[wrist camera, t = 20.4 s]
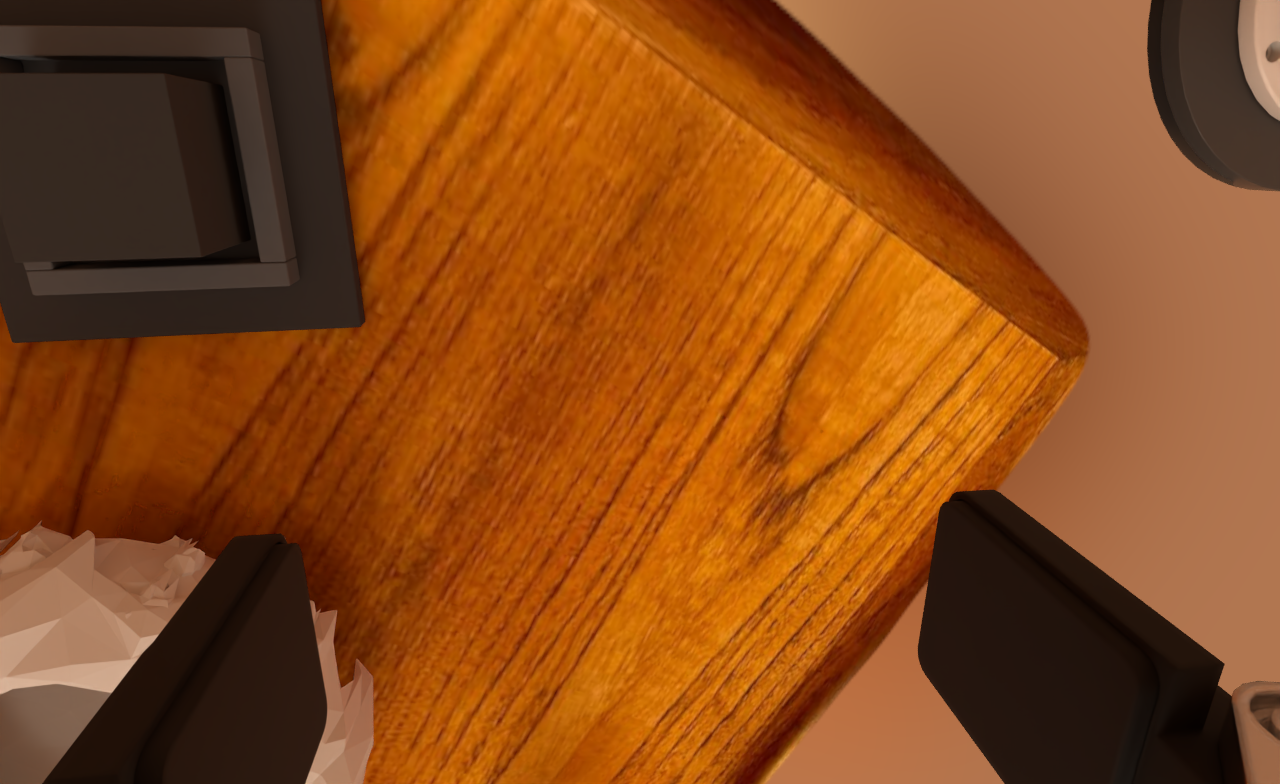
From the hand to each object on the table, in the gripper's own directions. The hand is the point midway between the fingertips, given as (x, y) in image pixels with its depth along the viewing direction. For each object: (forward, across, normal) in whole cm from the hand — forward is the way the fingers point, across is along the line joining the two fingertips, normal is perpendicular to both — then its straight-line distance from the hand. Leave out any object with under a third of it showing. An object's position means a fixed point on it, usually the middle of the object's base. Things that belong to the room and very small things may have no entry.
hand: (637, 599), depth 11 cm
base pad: (+25, +16, -5) cm, 30 cm away
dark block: (+24, +16, -5) cm, 29 cm away
